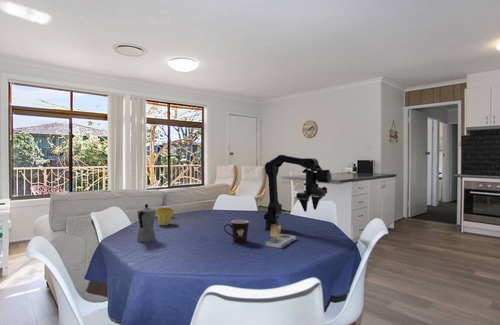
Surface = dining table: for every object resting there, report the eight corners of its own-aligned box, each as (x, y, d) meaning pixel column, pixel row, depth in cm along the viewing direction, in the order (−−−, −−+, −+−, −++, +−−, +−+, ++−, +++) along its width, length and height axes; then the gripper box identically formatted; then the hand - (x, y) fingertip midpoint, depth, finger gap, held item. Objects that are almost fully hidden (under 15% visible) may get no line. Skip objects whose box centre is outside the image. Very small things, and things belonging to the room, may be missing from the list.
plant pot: (166, 221, 191) (166, 206, 191) (176, 223, 185) (176, 208, 185) (152, 224, 182) (152, 208, 182) (163, 226, 176) (163, 210, 176)
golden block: (270, 236, 155) (270, 225, 155) (273, 235, 159) (273, 224, 159) (277, 237, 153) (277, 226, 153) (280, 236, 156) (280, 225, 156)
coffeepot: (141, 236, 154) (142, 202, 154) (159, 236, 154) (159, 202, 154) (129, 244, 139) (129, 206, 139) (149, 244, 139) (149, 207, 139)
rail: (265, 245, 139) (265, 241, 139) (281, 237, 154) (281, 233, 154) (280, 248, 134) (280, 244, 134) (295, 239, 150) (295, 235, 150)
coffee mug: (250, 240, 148) (251, 220, 148) (245, 244, 140) (245, 224, 140) (229, 238, 152) (229, 218, 152) (222, 242, 144) (223, 222, 143)
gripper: (314, 183, 144) (313, 215, 145) (333, 182, 157) (332, 210, 158) (295, 182, 152) (295, 211, 152) (315, 180, 165) (314, 207, 166)
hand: (310, 210), depth 157 cm, fingers open, 9 cm apart
